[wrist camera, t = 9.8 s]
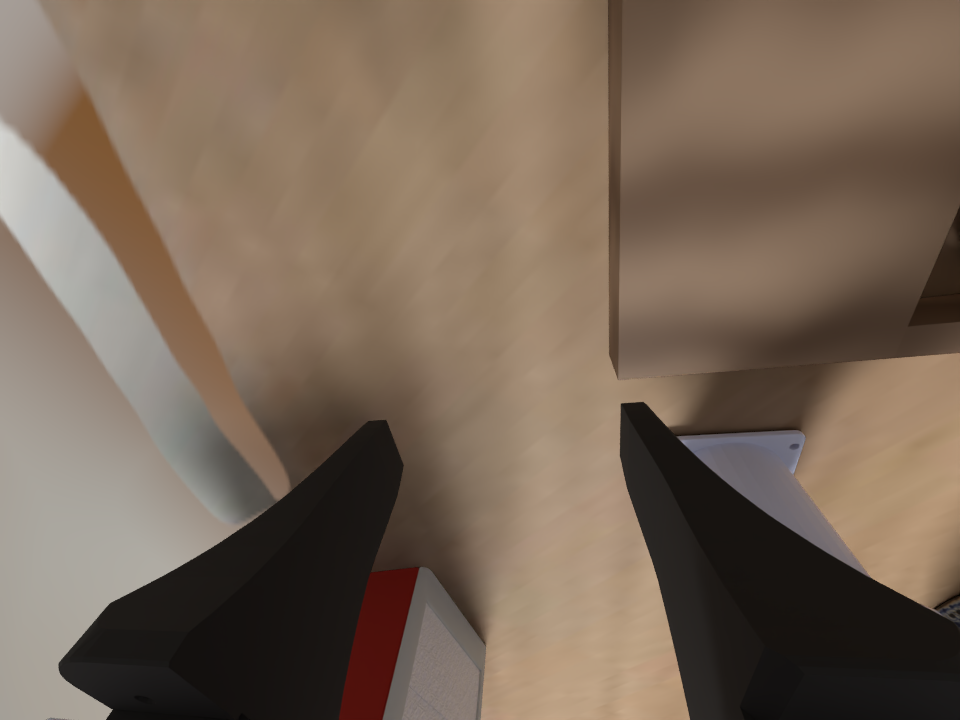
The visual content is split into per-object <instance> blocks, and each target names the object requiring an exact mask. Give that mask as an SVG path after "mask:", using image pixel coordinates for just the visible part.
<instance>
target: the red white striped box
mask: <svg viewBox="0 0 960 720" xmlns="http://www.w3.org/2000/svg"><path fill="white" fill-rule="evenodd" d="M485 655H486V646H485V645H484V643H483V642H482V640H481V639H480V638H479V636H478V635H477V633H476V632H475V631H474V629H473V628H472V627H471V625H470V624H469V622H468V621H467V620H466V618H465V617H464V615H463V614H462V613H461V611H460V610H459V609H458V607H457V606H456V604H455V603H454V602H453V600H452V599H451V597H450V596H449V595H448V593H447V592H446V590H445V589H444V588H443V586H442V585H441V584H440V582H439V581H438V579H437V578H436V577H435V575H434V574H433V572H432V571H431V570H430V569H428V568H426V567H420V568H418V567H414V568H406V569H397V570H389V571H380V572H372V573H370V575H369V579H368V583H367V587H366V591H365V595H364V599H363V603H362V607H361V611H360V615H359V619H358V624H357V628H356V633H355V637H354V642H353V646H352V651H351V656H350V661H349V666H348V671H347V676H346V681H345V686H344V692H343V698H342V704H341V710H340V716H339V720H480V719H481V706H482V693H483V681H484V668H485Z"/></svg>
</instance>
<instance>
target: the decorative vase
mask: <svg viewBox="0 0 960 720" xmlns="http://www.w3.org/2000/svg"><path fill="white" fill-rule="evenodd" d="M935 610H936V611H938V612H939V613H940V614H942V615H943V616H944V617H945V618H947V619H949V620H951V621H953V622H954V623H955V624H956V625H957V626H958V627H959V628H960V596H957V597H955V598H953V599H951V600H949V601H947V602H945V603H944V604H942V605H940V606H939V607H938V608H937V609H935Z"/></svg>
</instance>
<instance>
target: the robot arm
mask: <svg viewBox="0 0 960 720" xmlns="http://www.w3.org/2000/svg"><path fill="white" fill-rule="evenodd" d="M805 438H806V437H805V435H804V434H803V433H802V432H801V431H799V430H785V431H767V432H748V433H729V434H711V435H692V436H675V435H674V434H673V433H672V432H671V431H670V430H669V428H668V427H667V426H666V425H665V424H664V423H663V422H662V421H661V420H660V419H659V418H658V417H657V416H656V415H655V413H654V412H653V411H652V410H651V409H650V408H649V407H648V406H647V405H646V404H645V403H644V402H636V403H622V404H621V427H620V458H621V462H622V467H623V472H624V476H625V481H626V485H627V489H628V492H629V495H630V498H631V501H632V504H633V507H634V510H635V513H636V516H637V518H638V521H639V524H640V527H641V530H642V533H643V536H644V539H645V542H646V545H647V547H648V550H649V553H650V556H651V559H652V562H653V565H654V568H655V572H656V575H657V578H658V582H659V586H660V590H661V594H662V598H663V602H664V606H665V611H666V615H667V619H668V623H669V627H670V632H671V636H672V640H673V644H674V649H675V653H676V657H677V662H678V666H679V671H680V675H681V680H682V684H683V689H684V693H685V698H686V702H687V707H688V711H689V716H690V720H960V628H959V627H958V626H957V625H956V624H955V623H954V622H953V621H951V620H949V619H947V618H945V617H944V616H943V615H942V614H940V613H939V612H938V611H936V610H935V609H932V608H929V607H927V606H924V605H921V604H919V603H917V602H915V601H913V600H911V599H909V598H907V597H905V596H904V595H902V594H900V593H898V592H896V591H894V590H892V589H890V588H888V587H886V586H885V585H883V584H881V583H879V582H877V581H875V580H873V579H872V578H871V577H870V576H869V575H868V573H867V572H866V571H865V569H864V568H863V567H862V565H861V564H860V563H859V561H858V560H857V559H856V557H855V556H854V555H853V553H852V552H851V551H850V549H849V548H848V547H847V545H846V544H845V543H844V541H843V540H842V539H841V538H840V536H839V535H838V534H837V532H836V531H835V530H834V528H833V527H832V526H831V524H830V523H829V522H828V520H827V519H826V518H825V516H824V515H823V514H822V512H821V511H820V510H819V508H818V507H817V506H816V504H815V503H814V502H813V500H812V499H811V498H810V497H809V495H808V494H807V493H806V491H805V490H804V489H803V487H802V486H801V485H800V483H799V482H798V481H797V479H796V478H795V477H794V472H795V469H796V466H797V463H798V460H799V457H800V454H801V451H802V448H803V445H804V442H805ZM403 466H404V465H403V463H402V460H401V457H400V455H399V452H398V450H397V447H396V444H395V442H394V439H393V436H392V434H391V431H390V429H389V426H388V423H387V421H386V420H378V421H368V422H367V423H366V424H365V425H363V426H362V427H361V428H360V429H359V430H358V431H357V432H356V433H355V434H354V435H353V436H352V437H350V438H349V439H348V440H347V441H346V442H345V443H344V444H343V445H342V446H341V447H340V448H339V449H338V450H337V451H336V452H335V453H334V454H332V455H331V456H330V457H329V458H328V459H327V460H326V461H325V462H324V463H323V464H322V465H321V466H320V467H318V468H317V469H316V470H315V471H314V472H313V473H312V474H310V475H309V476H308V477H307V478H306V479H305V480H304V481H302V482H301V483H300V484H299V485H298V486H297V487H295V488H294V489H293V490H292V491H291V492H290V493H288V494H287V495H286V496H285V497H283V498H282V499H281V500H280V501H278V502H277V503H276V504H275V505H273V506H272V507H271V508H269V509H268V510H266V511H265V512H264V513H262V514H261V515H260V516H258V517H257V518H256V519H254V520H253V521H252V522H250V523H249V524H247V525H246V526H244V527H243V528H241V529H240V530H238V531H237V532H235V533H234V534H232V535H231V536H229V537H228V538H226V539H225V540H223V541H222V542H220V543H219V544H217V545H215V546H214V547H212V548H211V549H209V550H207V551H206V552H204V553H202V554H201V555H199V556H197V557H196V558H194V559H193V560H190V561H189V562H187V563H185V564H184V565H182V566H180V567H178V568H177V569H175V570H173V571H171V572H169V573H168V574H166V575H164V576H162V577H160V578H158V579H156V580H155V581H153V582H151V583H149V584H147V585H145V586H143V587H141V588H139V589H137V590H135V591H133V592H131V593H129V594H127V595H126V596H124V597H122V598H120V599H118V600H115V601H114V602H112V603H110V604H109V605H108V606H107V607H106V608H105V610H104V611H103V612H102V613H101V614H100V615H99V617H98V618H97V619H96V620H95V621H94V622H93V624H92V625H91V626H90V627H89V628H88V630H87V631H86V632H85V633H84V634H83V635H82V637H81V638H80V639H79V640H78V641H77V643H76V644H75V645H74V646H73V647H72V648H71V649H70V650H69V652H68V653H67V654H66V655H65V656H64V657H63V659H62V660H61V661H60V662H59V671H60V674H61V675H62V677H64V679H65V680H66V681H68V682H69V683H71V684H72V685H73V686H75V687H76V688H78V689H80V690H81V691H83V692H85V693H86V694H88V695H90V696H91V697H93V698H94V699H96V700H98V701H99V702H101V703H103V704H104V705H106V706H108V707H109V708H111V709H113V710H112V712H111V713H110V715H109V716H108V717H107V719H106V720H339V716H340V710H341V704H342V698H343V692H344V686H345V681H346V676H347V671H348V666H349V661H350V656H351V651H352V646H353V642H354V637H355V633H356V628H357V624H358V619H359V615H360V611H361V607H362V603H363V599H364V595H365V591H366V587H367V583H368V579H369V575H370V572H371V569H372V566H373V563H374V560H375V557H376V554H377V552H378V549H379V546H380V543H381V540H382V538H383V535H384V532H385V529H386V526H387V524H388V521H389V518H390V515H391V512H392V509H393V507H394V504H395V501H396V498H397V495H398V490H399V486H400V481H401V476H402V471H403ZM47 720H67V719H57V718H49V719H47Z"/></svg>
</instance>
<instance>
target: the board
mask: <svg viewBox="0 0 960 720" xmlns="http://www.w3.org/2000/svg"><path fill="white" fill-rule="evenodd" d="M608 38H609V355H610V358H611V361H612V364H613V367H614V369H615V372H616V375H617V378H618V380H626V379H639V378H651V377H664V376H676V375H688V374H701V373H713V372H726V371H738V370H751V369H763V368H776V367H788V366H801V365H813V364H826V363H838V362H851V361H863V360H876V359H888V358H901V357H913V356H926V355H938V354H951V353H960V294H955V295H945V296H935V297H925V298H920V297H921V294H922V292H923V290H924V287H925V285H926V283H927V281H928V278H929V276H930V274H931V271H932V269H933V267H934V264H935V262H936V260H937V257H938V255H939V253H940V250H941V248H942V246H943V244H944V241H945V239H946V237H947V234H948V232H949V230H950V227H951V225H952V223H953V220H954V218H955V216H956V214H957V211H958V209H959V207H960V0H608Z"/></svg>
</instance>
